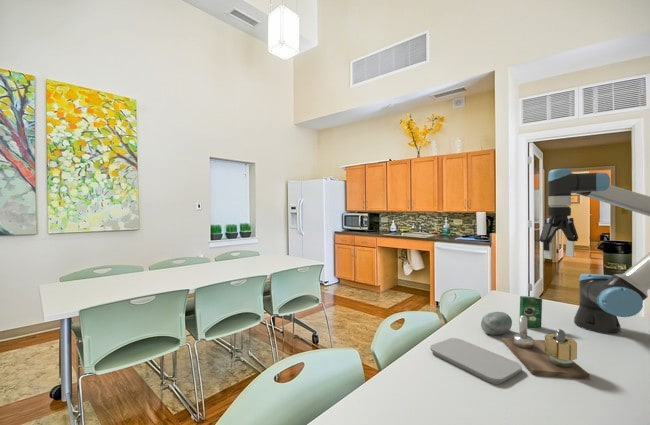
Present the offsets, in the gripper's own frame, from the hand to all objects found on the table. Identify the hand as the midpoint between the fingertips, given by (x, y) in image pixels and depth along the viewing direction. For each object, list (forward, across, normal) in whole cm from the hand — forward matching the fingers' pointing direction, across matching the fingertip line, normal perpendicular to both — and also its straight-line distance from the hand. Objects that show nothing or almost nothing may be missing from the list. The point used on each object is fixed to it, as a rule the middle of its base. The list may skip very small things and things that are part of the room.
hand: (559, 257), depth 126 cm
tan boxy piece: (+27, +28, +18) cm, 43 cm away
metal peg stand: (+30, +28, +18) cm, 45 cm away
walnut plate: (+32, +28, +12) cm, 44 cm away
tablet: (+32, +51, +5) cm, 61 cm away
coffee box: (+32, +4, -9) cm, 33 cm away
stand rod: (+30, +27, +5) cm, 41 cm away
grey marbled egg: (+32, +23, -10) cm, 41 cm away
